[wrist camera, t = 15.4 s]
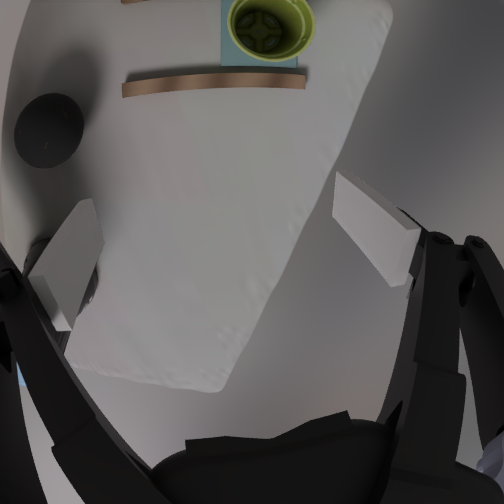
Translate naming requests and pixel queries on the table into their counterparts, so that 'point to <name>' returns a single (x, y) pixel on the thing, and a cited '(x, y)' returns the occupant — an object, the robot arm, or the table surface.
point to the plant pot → (271, 28)
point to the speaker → (48, 130)
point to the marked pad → (234, 54)
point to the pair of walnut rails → (211, 80)
